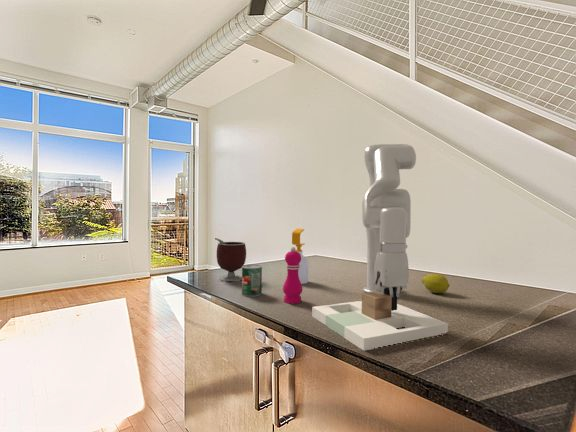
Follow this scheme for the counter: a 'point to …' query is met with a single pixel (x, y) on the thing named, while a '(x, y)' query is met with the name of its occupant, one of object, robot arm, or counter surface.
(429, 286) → the lemon
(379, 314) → the walnut block
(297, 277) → the pepper mill
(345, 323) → the board
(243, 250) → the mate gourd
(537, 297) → the counter surface
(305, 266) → the soap bottle
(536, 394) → the counter surface
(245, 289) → the canned tomato
